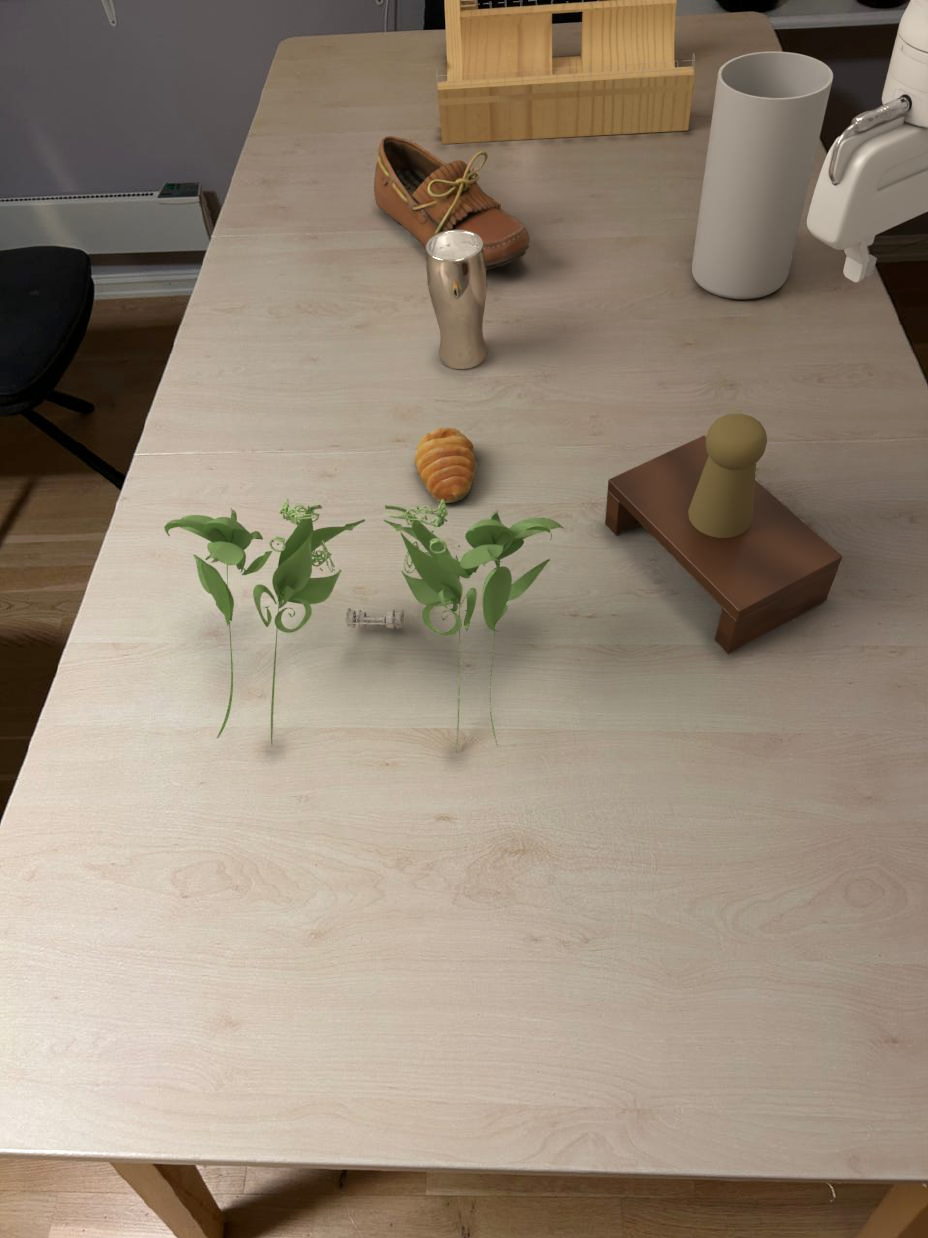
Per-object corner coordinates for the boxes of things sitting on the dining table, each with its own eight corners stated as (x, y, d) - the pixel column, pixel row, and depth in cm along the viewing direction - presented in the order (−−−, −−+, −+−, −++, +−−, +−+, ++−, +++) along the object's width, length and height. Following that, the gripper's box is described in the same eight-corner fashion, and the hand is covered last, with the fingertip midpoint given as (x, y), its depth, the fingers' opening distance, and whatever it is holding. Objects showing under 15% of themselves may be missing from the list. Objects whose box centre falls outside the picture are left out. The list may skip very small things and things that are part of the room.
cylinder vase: (683, 296, 123) (710, 95, 103) (698, 245, 130) (725, 48, 110) (782, 307, 120) (828, 102, 100) (791, 254, 127) (836, 54, 107)
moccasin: (540, 277, 128) (540, 190, 118) (458, 305, 125) (451, 219, 115) (443, 181, 146) (436, 100, 136) (370, 204, 143) (357, 122, 133)
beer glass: (459, 379, 115) (449, 268, 103) (424, 354, 119) (411, 244, 107) (502, 354, 118) (497, 243, 106) (466, 331, 121) (458, 221, 109)
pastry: (484, 502, 102) (482, 476, 99) (423, 512, 101) (419, 486, 98) (471, 445, 107) (469, 419, 104) (413, 454, 107) (409, 429, 104)
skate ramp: (441, 150, 154) (432, 44, 141) (450, 53, 175) (442, -47, 162) (687, 136, 151) (700, 27, 138) (666, 40, 172) (676, -63, 159)
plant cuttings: (559, 745, 90) (563, 515, 90) (560, 771, 73) (565, 488, 73) (209, 733, 94) (214, 512, 94) (132, 756, 77) (139, 486, 77)
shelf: (696, 480, 101) (704, 434, 96) (826, 600, 90) (843, 556, 85) (604, 524, 98) (608, 479, 93) (727, 654, 87) (739, 611, 82)
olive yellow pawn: (761, 505, 90) (785, 415, 81) (739, 546, 87) (761, 457, 78) (702, 485, 92) (718, 395, 83) (678, 524, 89) (692, 436, 80)
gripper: (874, 140, 62) (830, 320, 72) (1093, 47, 66) (1021, 229, 77) (807, 107, 65) (775, 283, 76) (1019, 21, 70) (960, 199, 81)
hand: (900, 255), depth 77 cm, fingers open, 8 cm apart
